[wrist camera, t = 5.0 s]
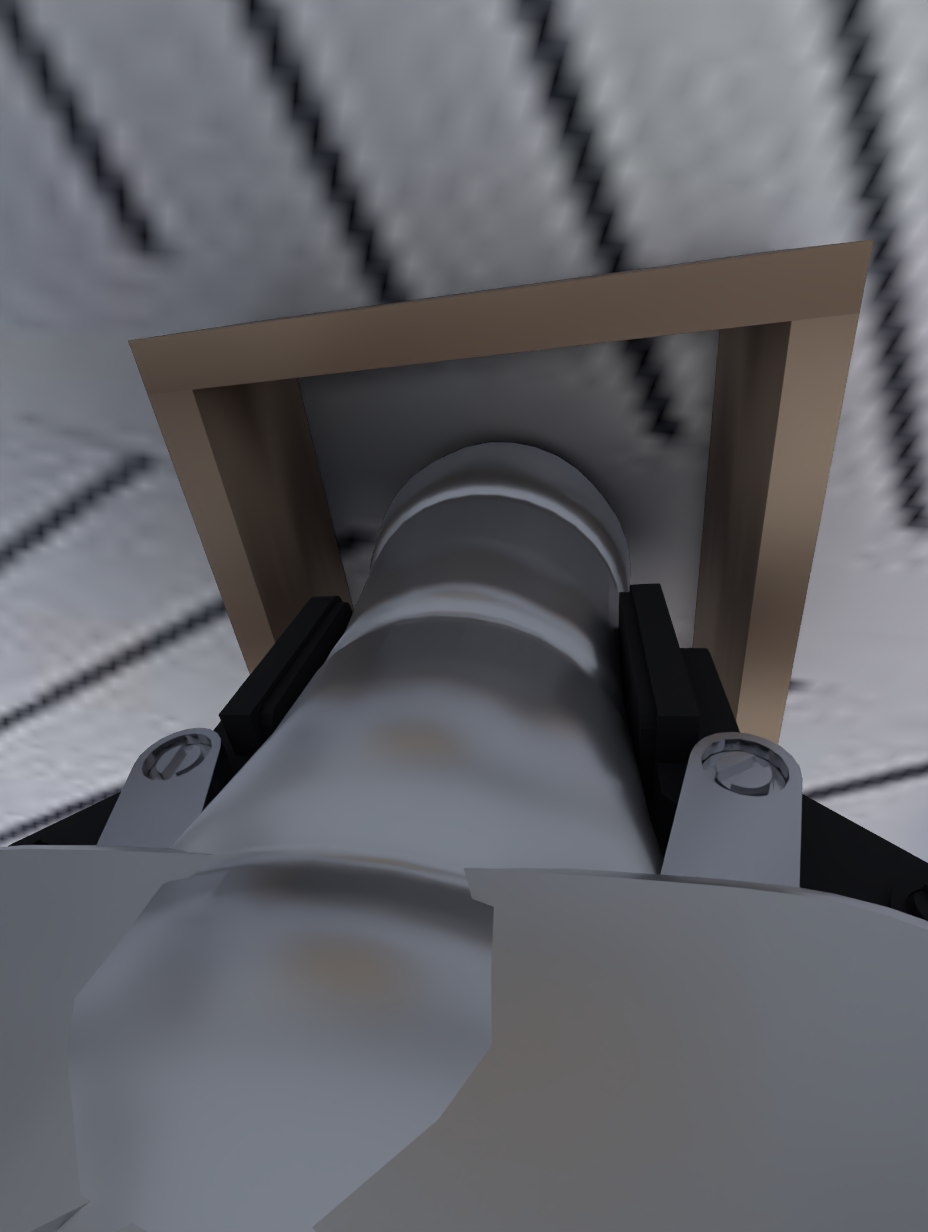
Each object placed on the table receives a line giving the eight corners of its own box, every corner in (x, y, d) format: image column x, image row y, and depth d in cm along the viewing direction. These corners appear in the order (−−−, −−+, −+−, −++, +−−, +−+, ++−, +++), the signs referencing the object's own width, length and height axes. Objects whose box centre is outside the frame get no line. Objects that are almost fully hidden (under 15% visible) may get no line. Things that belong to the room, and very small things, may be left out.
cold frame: (247, 322, 16) (127, 340, 11) (773, 250, 13) (872, 240, 9) (351, 706, 22) (299, 811, 18) (719, 706, 19) (762, 827, 15)
